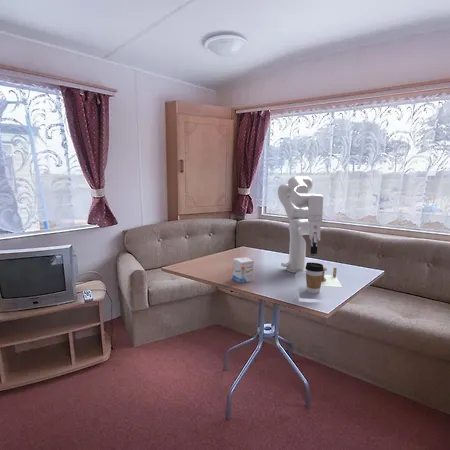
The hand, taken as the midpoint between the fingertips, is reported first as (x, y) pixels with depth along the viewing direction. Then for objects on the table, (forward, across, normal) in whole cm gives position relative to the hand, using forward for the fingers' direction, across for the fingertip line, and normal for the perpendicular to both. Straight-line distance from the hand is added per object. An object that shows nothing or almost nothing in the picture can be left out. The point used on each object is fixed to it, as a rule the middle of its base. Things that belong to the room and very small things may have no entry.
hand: (313, 252), depth 162 cm
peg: (+1, 0, 0) cm, 1 cm away
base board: (+17, +4, -8) cm, 19 cm away
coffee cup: (+18, -14, +1) cm, 23 cm away
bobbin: (+15, +4, -4) cm, 16 cm away
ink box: (+17, -2, +37) cm, 41 cm away
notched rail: (+15, +12, -8) cm, 21 cm away
